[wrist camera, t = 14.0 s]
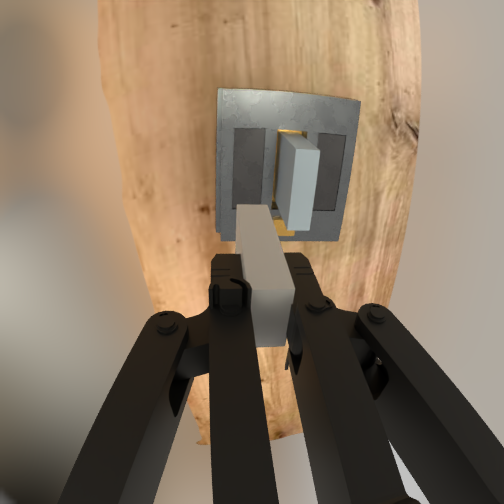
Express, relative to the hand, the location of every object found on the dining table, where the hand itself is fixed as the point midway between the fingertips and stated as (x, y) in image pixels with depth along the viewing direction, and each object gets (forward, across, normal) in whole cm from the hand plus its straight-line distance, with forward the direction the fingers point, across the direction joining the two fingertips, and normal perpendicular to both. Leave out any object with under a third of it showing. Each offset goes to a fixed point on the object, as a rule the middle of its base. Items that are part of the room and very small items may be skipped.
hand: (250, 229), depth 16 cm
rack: (+26, +7, -4) cm, 28 cm away
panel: (+26, +7, -4) cm, 27 cm away
